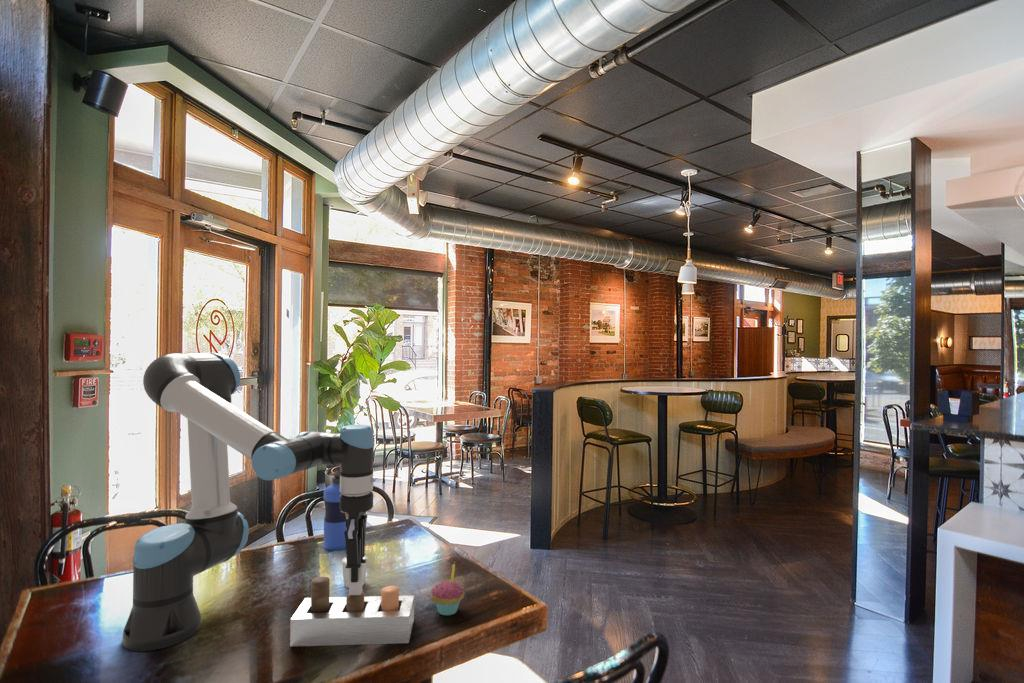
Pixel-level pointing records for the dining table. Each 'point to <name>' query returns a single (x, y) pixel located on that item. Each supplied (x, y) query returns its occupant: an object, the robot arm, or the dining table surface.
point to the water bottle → (334, 516)
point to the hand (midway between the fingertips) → (355, 593)
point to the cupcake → (448, 595)
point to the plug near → (320, 595)
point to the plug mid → (355, 603)
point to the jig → (352, 623)
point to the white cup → (346, 571)
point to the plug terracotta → (390, 598)
